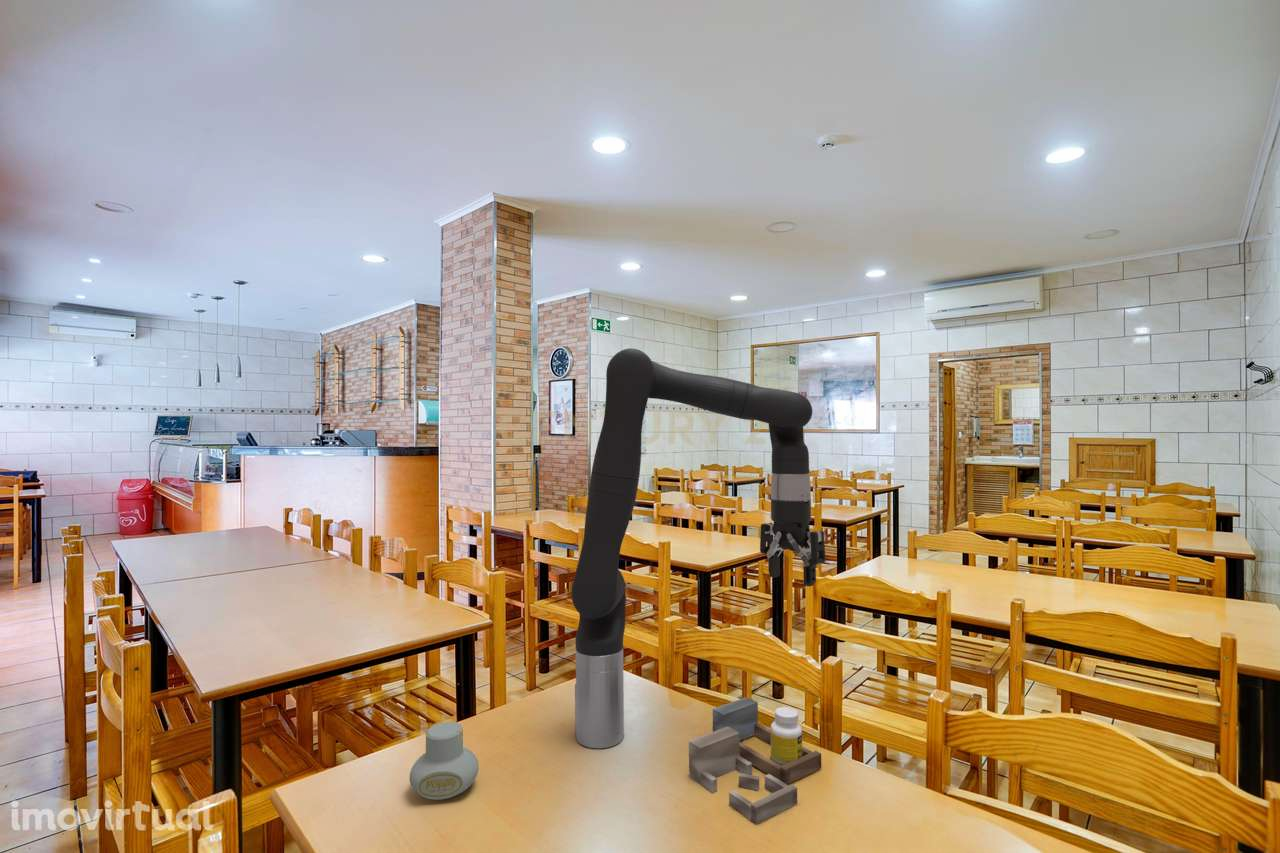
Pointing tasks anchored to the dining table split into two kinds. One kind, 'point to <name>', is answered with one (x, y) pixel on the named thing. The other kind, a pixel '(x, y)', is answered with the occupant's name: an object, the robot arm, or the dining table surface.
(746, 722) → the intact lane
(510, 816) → the dining table surface
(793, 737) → the supplement bottle
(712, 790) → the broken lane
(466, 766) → the air freshener
